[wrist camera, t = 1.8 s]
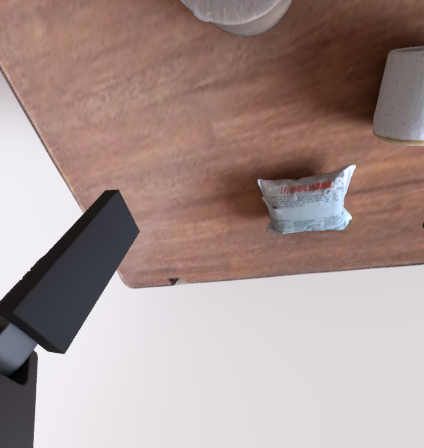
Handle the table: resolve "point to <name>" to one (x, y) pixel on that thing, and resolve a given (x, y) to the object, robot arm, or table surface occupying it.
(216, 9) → the pillar candle
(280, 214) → the packaged food
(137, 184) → the table surface
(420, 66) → the ceramic mug
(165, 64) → the table surface
